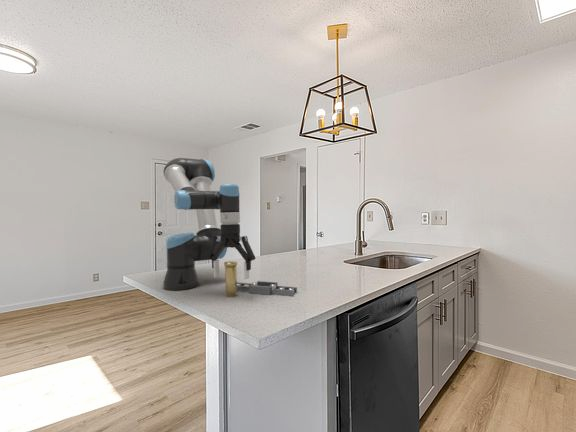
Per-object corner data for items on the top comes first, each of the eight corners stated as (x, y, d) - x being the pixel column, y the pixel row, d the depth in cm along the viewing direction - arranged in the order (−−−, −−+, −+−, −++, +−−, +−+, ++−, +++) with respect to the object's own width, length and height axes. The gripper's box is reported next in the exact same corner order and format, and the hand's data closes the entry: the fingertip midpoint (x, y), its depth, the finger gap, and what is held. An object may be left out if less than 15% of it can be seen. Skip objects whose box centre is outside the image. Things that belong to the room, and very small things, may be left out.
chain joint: (225, 290, 127) (225, 283, 127) (235, 285, 135) (235, 279, 135) (291, 297, 118) (291, 289, 117) (298, 291, 125) (298, 284, 125)
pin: (222, 296, 120) (221, 263, 119) (229, 292, 124) (228, 261, 124) (233, 297, 118) (233, 263, 118) (239, 293, 123) (239, 261, 122)
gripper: (197, 224, 121) (198, 277, 121) (254, 224, 112) (255, 281, 113) (208, 223, 128) (210, 274, 128) (263, 223, 119) (264, 277, 120)
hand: (231, 277), depth 121 cm, fingers open, 13 cm apart
